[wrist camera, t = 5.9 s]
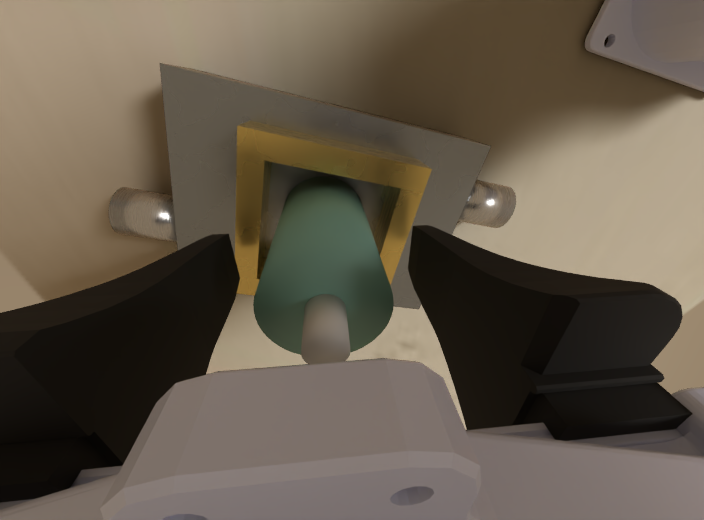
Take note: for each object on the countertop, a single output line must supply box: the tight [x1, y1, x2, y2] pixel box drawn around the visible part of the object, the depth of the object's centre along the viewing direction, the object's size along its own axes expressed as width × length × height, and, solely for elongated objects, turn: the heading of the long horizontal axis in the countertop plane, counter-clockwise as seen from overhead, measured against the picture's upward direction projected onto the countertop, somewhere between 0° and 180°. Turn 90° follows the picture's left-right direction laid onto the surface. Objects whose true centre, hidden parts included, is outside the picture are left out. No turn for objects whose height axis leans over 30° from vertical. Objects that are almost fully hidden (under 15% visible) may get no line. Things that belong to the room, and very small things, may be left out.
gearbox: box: [109, 63, 516, 309], centre depth 15 cm, size 20×10×5 cm, turn 77°
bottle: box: [253, 176, 394, 364], centre depth 10 cm, size 4×4×8 cm
